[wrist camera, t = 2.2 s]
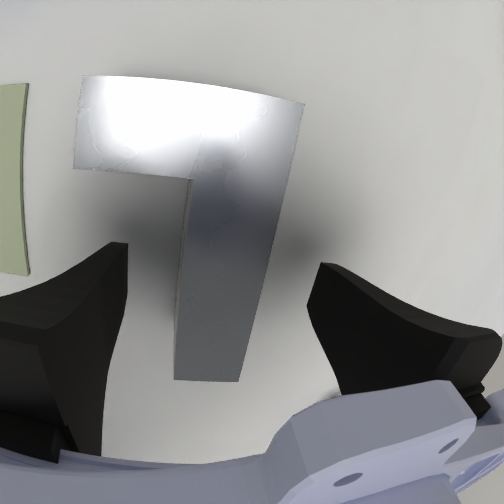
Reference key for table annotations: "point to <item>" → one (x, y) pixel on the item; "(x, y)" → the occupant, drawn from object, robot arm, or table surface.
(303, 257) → the table surface
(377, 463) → the robot arm
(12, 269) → the mat
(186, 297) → the bracket
